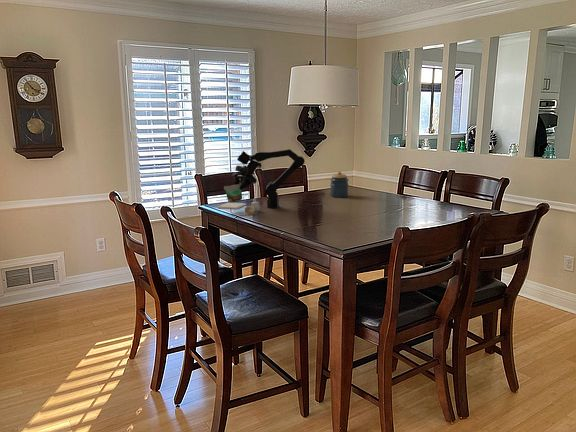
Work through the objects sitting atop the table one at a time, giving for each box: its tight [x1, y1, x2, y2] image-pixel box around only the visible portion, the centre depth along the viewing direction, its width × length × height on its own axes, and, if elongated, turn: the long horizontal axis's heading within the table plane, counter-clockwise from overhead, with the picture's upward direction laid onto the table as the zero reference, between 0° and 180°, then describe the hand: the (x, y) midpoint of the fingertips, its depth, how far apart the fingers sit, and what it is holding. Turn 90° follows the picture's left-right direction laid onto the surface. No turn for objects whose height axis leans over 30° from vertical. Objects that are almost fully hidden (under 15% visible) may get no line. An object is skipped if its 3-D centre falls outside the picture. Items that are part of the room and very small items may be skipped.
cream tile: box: [217, 202, 247, 210], centre depth 298 cm, size 13×14×1 cm
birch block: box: [244, 205, 256, 216], centre depth 273 cm, size 4×4×4 cm
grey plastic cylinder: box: [250, 201, 260, 213], centre depth 284 cm, size 5×5×5 cm
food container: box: [223, 181, 243, 203], centre depth 282 cm, size 12×6×10 cm, turn 131°
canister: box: [329, 171, 349, 198], centre depth 331 cm, size 13×13×18 cm
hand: (236, 188), depth 283 cm, fingers closed on food container, 6 cm apart
